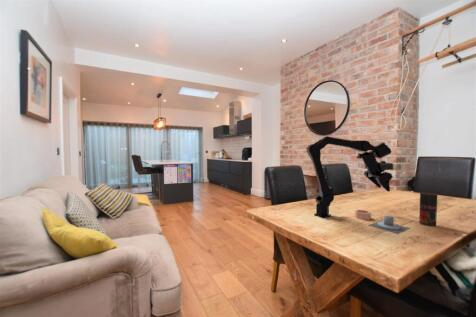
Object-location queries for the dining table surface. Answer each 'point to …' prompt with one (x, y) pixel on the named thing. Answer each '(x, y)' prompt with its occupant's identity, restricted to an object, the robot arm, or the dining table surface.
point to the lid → (388, 223)
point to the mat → (390, 230)
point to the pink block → (363, 214)
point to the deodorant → (428, 209)
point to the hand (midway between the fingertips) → (384, 189)
